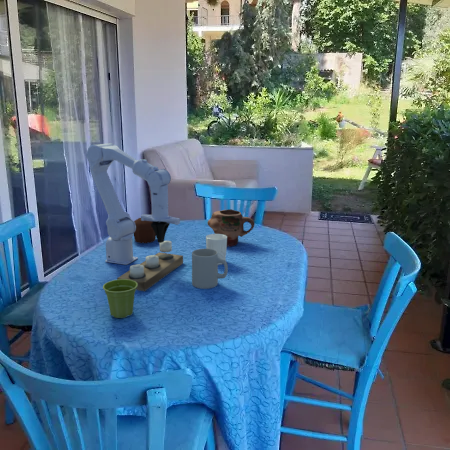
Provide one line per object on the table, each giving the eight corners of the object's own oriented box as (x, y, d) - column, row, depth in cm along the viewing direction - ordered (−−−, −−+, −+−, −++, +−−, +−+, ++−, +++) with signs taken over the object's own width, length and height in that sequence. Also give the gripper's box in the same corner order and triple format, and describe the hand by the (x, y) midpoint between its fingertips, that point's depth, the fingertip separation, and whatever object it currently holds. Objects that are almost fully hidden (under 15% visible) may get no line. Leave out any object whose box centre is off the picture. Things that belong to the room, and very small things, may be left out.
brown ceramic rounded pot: (254, 240, 197) (255, 209, 194) (253, 248, 186) (254, 216, 182) (209, 238, 199) (209, 207, 195) (205, 247, 187) (205, 214, 184)
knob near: (127, 276, 146) (127, 267, 145) (134, 272, 150) (134, 263, 149) (139, 278, 144) (139, 269, 143) (146, 274, 148) (146, 264, 147)
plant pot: (107, 306, 131) (105, 279, 129) (140, 305, 132) (139, 278, 130) (101, 321, 122) (99, 292, 120) (136, 320, 123) (135, 291, 121)
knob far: (157, 251, 163) (157, 242, 162) (163, 247, 167) (163, 239, 166) (168, 252, 162) (168, 244, 161) (173, 249, 166) (173, 240, 165)
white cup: (224, 266, 165) (224, 240, 162) (203, 264, 167) (203, 238, 164) (228, 259, 172) (229, 234, 170) (208, 257, 174) (208, 233, 171)
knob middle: (143, 266, 155) (143, 257, 154) (149, 262, 159) (149, 254, 158) (154, 268, 153) (154, 259, 152) (161, 264, 157) (160, 255, 156)
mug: (188, 287, 146) (188, 255, 143) (196, 277, 154) (196, 247, 151) (224, 291, 143) (224, 258, 140) (230, 281, 151) (231, 250, 148)
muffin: (145, 235, 203) (144, 213, 200) (163, 239, 197) (163, 217, 194) (125, 241, 194) (124, 218, 191) (144, 246, 188) (143, 222, 185)
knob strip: (117, 286, 146) (117, 277, 145) (159, 259, 171) (159, 251, 170) (144, 291, 142) (144, 281, 142) (183, 263, 168) (183, 255, 167)
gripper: (135, 205, 156) (137, 242, 159) (173, 208, 150) (173, 247, 154) (146, 201, 162) (147, 237, 165) (182, 204, 157) (183, 241, 160)
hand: (160, 241), depth 160 cm, fingers closed
